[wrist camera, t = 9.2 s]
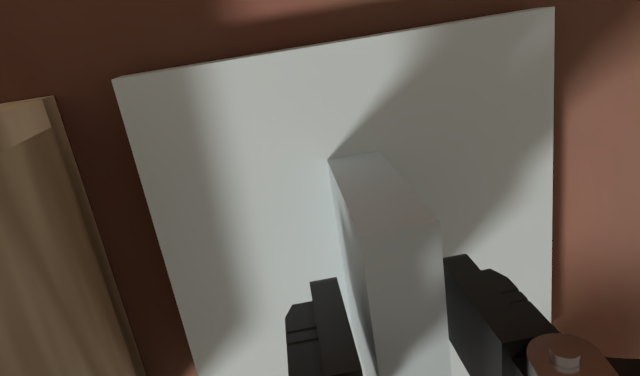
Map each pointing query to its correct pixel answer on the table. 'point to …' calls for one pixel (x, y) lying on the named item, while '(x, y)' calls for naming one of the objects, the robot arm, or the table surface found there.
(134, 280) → the table surface
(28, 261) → the box
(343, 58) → the lid
